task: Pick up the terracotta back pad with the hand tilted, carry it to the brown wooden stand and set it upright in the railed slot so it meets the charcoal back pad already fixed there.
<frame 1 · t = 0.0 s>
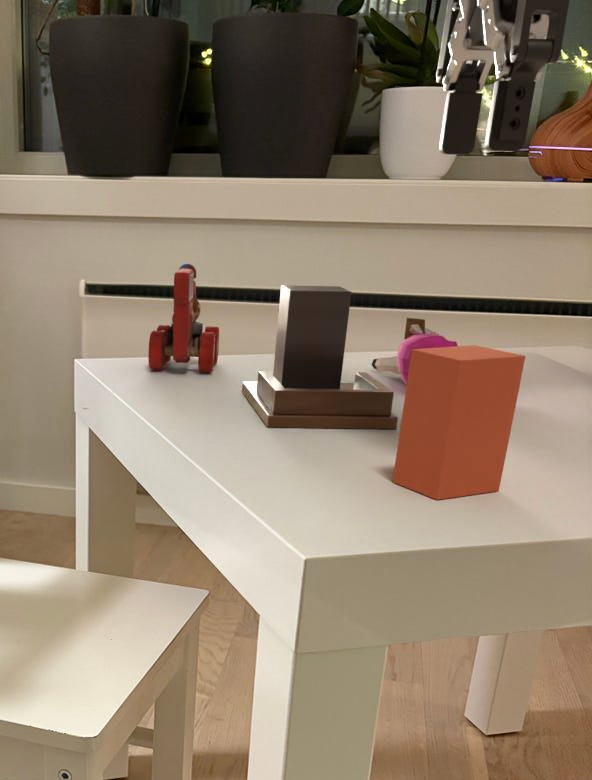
hand: (477, 152, 63), 21 cm above the table, tool pointing down, fingers open, 8 cm apart
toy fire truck: (183, 368, 107), on the table
toy: (430, 386, 101), on the table
brown wooden stand: (311, 407, 89), on the table
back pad: (444, 486, 67), on the table
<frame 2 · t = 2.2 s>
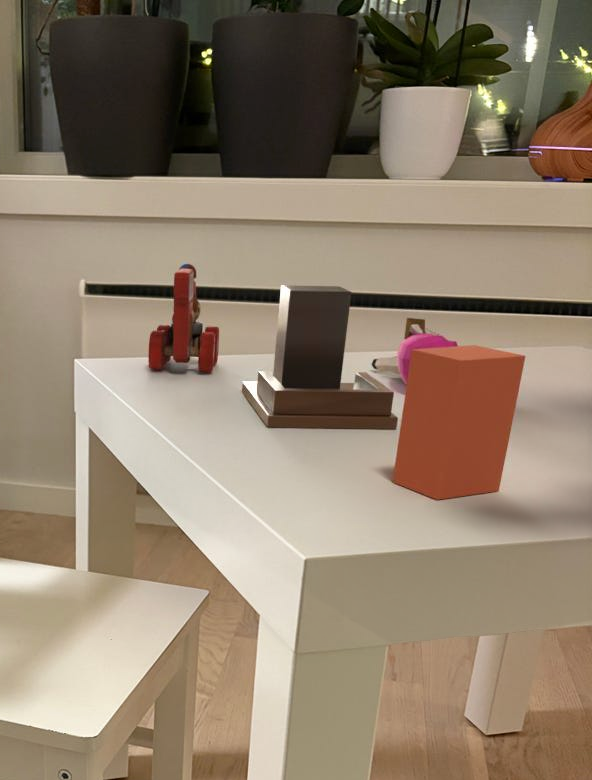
nothing on the table moved.
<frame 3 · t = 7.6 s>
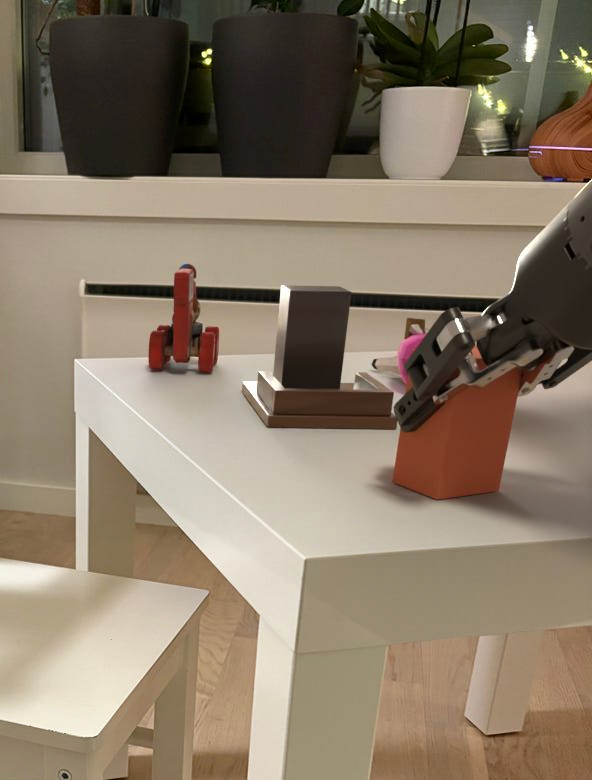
hand: (437, 416, 67), 4 cm above the table, tool tilted 45°, fingers closed on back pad, 5 cm apart
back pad: (444, 486, 67), on the table, touching gripper
everything else where it was.
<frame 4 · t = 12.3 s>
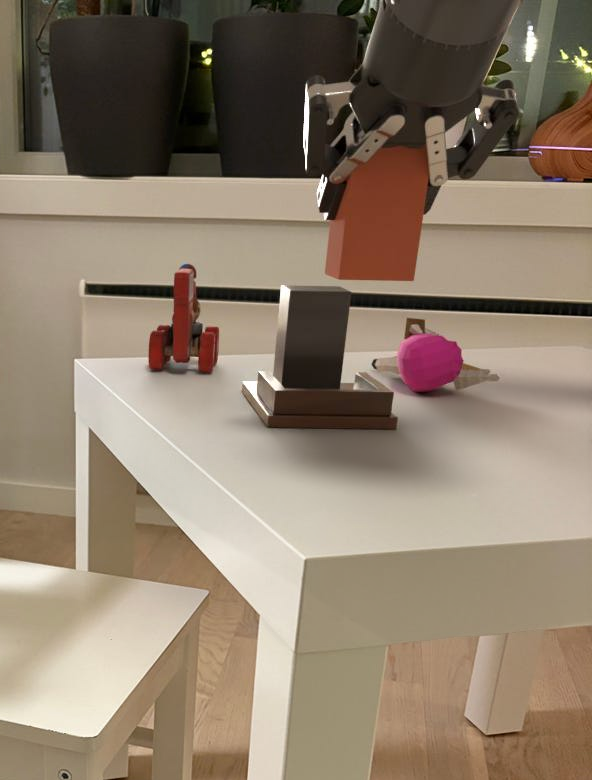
hand: (369, 211, 72), 17 cm above the table, tool tilted 45°, fingers closed on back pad, 5 cm apart
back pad: (368, 277, 72), point 12 cm above the table, touching gripper
everything else where it was.
when the fingers open (5 cm above the table, at t = 17.2 s): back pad stays where it is, resting on brown wooden stand.
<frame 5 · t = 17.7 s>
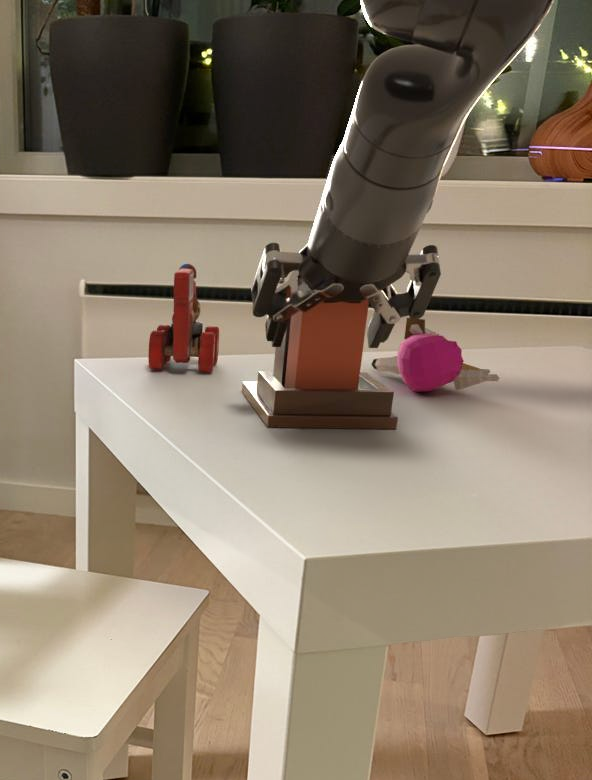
hand: (323, 339, 85), 6 cm above the table, tool tilted 45°, fingers open, 8 cm apart
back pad: (318, 402, 86), point 1 cm above the table, touching brown wooden stand
everything else where it was.
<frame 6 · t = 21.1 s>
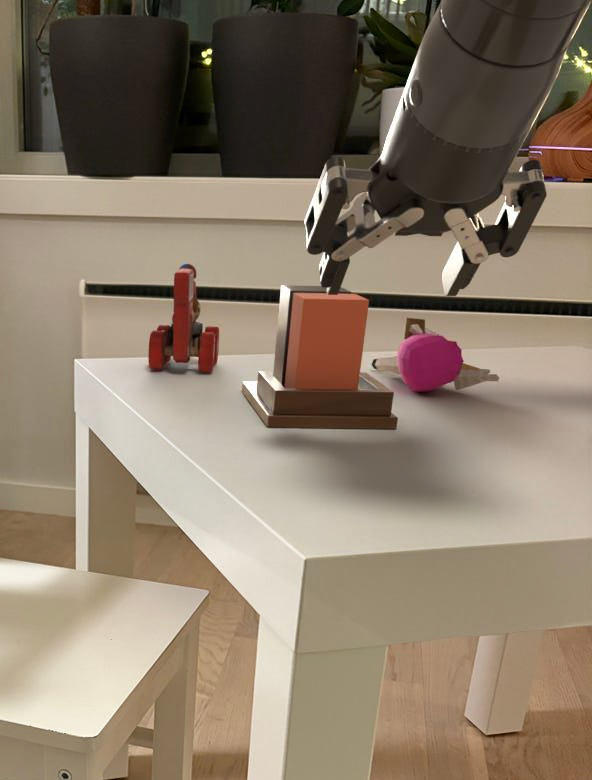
hand: (389, 285, 70), 12 cm above the table, tool tilted 45°, fingers open, 8 cm apart
nothing on the table moved.
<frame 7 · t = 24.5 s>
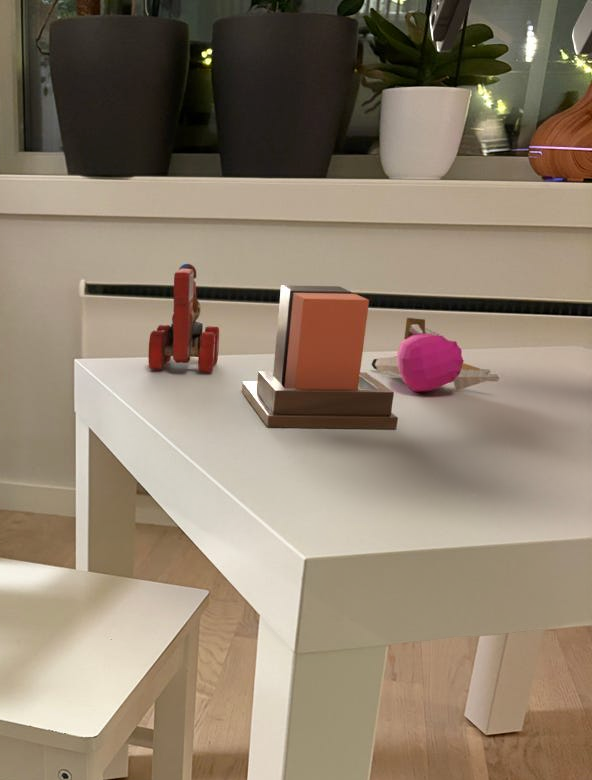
hand: (510, 43, 59), 27 cm above the table, tool tilted 45°, fingers open, 8 cm apart
nothing on the table moved.
at the end: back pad 0.1 cm from the target spot on the brown wooden stand, point 1.0 cm above the brown wooden stand's base; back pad tilted 0°; the gripper is holding nothing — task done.
